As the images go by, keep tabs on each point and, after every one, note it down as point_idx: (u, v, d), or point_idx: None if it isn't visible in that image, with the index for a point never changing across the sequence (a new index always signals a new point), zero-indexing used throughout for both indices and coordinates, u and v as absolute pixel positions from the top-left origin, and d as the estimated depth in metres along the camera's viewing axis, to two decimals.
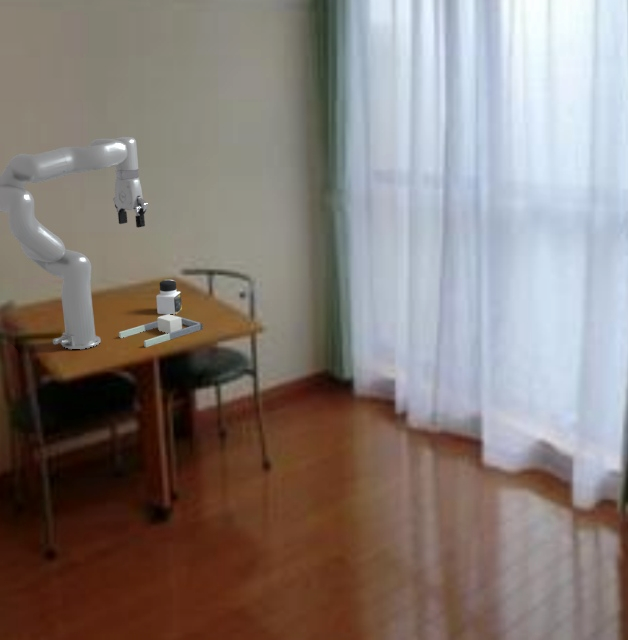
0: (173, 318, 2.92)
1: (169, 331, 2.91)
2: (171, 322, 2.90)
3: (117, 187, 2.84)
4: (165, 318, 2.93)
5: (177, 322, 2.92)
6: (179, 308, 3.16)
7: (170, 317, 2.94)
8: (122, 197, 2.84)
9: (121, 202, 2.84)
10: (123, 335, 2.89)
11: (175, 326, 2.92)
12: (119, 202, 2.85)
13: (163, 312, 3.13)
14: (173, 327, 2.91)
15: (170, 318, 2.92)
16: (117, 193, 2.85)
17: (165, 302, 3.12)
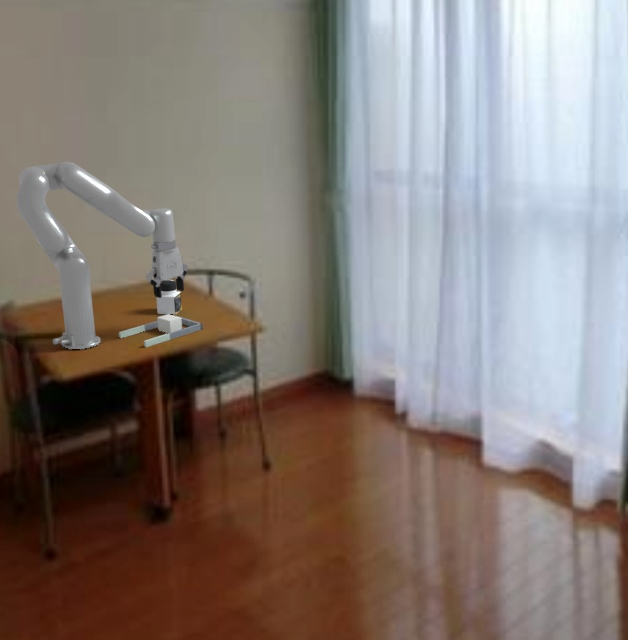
0: (173, 318, 2.92)
1: (169, 331, 2.91)
2: (171, 322, 2.90)
3: (164, 259, 2.83)
4: (165, 318, 2.93)
5: (177, 322, 2.92)
6: (179, 308, 3.16)
7: (170, 317, 2.94)
8: (171, 267, 2.86)
9: (171, 272, 2.86)
10: (123, 335, 2.89)
11: (175, 326, 2.92)
12: (167, 273, 2.85)
13: (163, 312, 3.13)
14: (173, 327, 2.91)
15: (170, 318, 2.92)
16: (164, 265, 2.84)
17: (165, 302, 3.12)
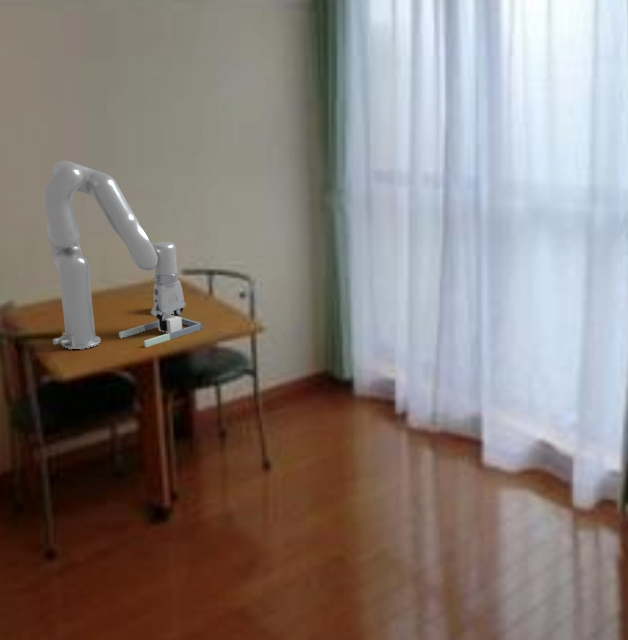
0: (173, 318, 2.92)
1: (169, 331, 2.91)
2: (171, 322, 2.90)
3: (166, 292, 2.87)
4: (165, 318, 2.93)
5: (177, 322, 2.92)
6: None
7: (170, 316, 2.94)
8: (172, 300, 2.89)
9: (172, 305, 2.90)
10: (123, 335, 2.89)
11: (175, 326, 2.92)
12: (168, 306, 2.89)
13: None
14: (173, 327, 2.91)
15: (170, 318, 2.92)
16: (166, 298, 2.87)
17: None
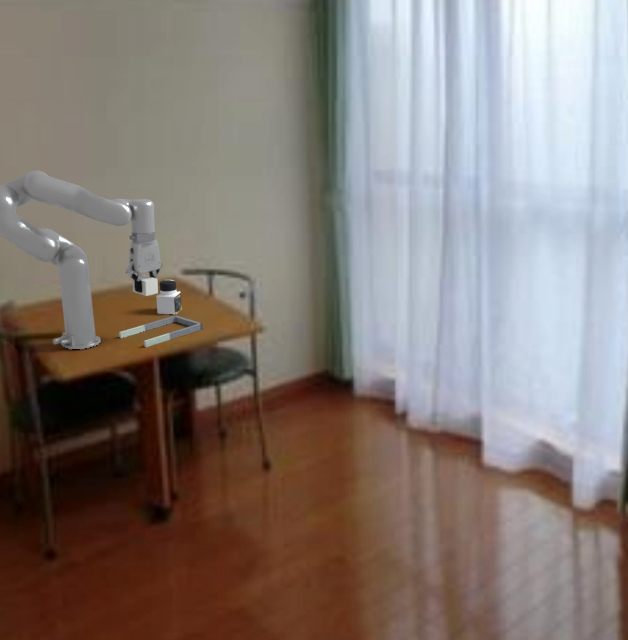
0: (148, 279, 2.82)
1: (144, 292, 2.80)
2: (147, 282, 2.79)
3: (142, 251, 2.76)
4: None
5: (153, 283, 2.82)
6: (179, 308, 3.16)
7: (146, 277, 2.83)
8: (149, 259, 2.79)
9: (148, 265, 2.79)
10: (123, 335, 2.89)
11: (151, 287, 2.81)
12: (144, 266, 2.78)
13: (163, 312, 3.13)
14: (148, 288, 2.80)
15: (146, 279, 2.81)
16: (142, 258, 2.77)
17: (165, 302, 3.12)
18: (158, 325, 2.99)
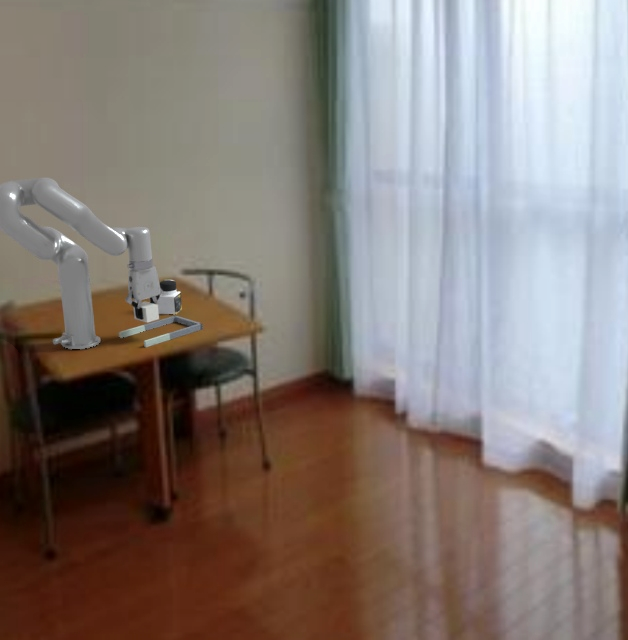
0: (149, 305, 2.83)
1: (145, 319, 2.82)
2: (147, 309, 2.81)
3: (141, 279, 2.78)
4: (141, 305, 2.84)
5: (153, 310, 2.83)
6: (179, 308, 3.16)
7: (146, 304, 2.85)
8: (148, 286, 2.80)
9: (147, 292, 2.81)
10: (123, 335, 2.89)
11: (152, 313, 2.83)
12: (144, 293, 2.80)
13: (163, 312, 3.13)
14: (149, 315, 2.82)
15: (146, 306, 2.83)
16: (141, 285, 2.78)
17: (165, 302, 3.12)
18: (158, 325, 2.99)
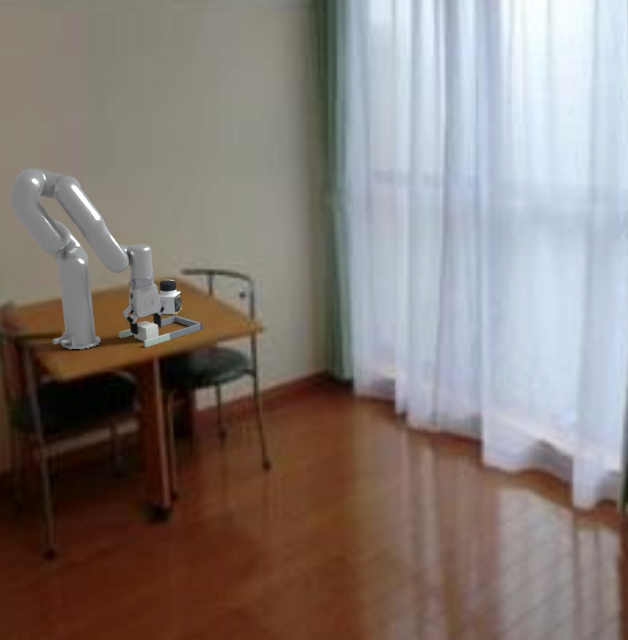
0: (149, 325, 2.85)
1: (145, 338, 2.84)
2: (147, 329, 2.83)
3: (142, 296, 2.80)
4: (141, 325, 2.86)
5: (153, 329, 2.85)
6: (179, 308, 3.16)
7: (146, 324, 2.87)
8: (148, 304, 2.82)
9: (148, 309, 2.82)
10: (123, 335, 2.89)
11: (152, 333, 2.85)
12: (144, 310, 2.81)
13: (163, 312, 3.13)
14: (149, 335, 2.84)
15: (147, 325, 2.85)
16: (141, 302, 2.80)
17: None
18: None
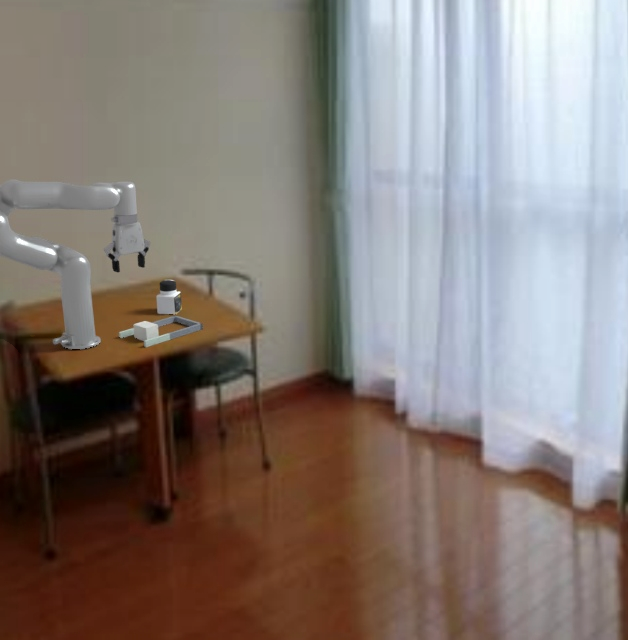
0: (149, 325, 2.85)
1: (145, 338, 2.84)
2: (147, 329, 2.83)
3: (124, 233, 2.79)
4: (141, 325, 2.86)
5: (153, 329, 2.85)
6: (179, 308, 3.16)
7: (146, 324, 2.87)
8: (131, 242, 2.81)
9: (130, 247, 2.81)
10: (123, 335, 2.89)
11: (152, 333, 2.85)
12: (126, 248, 2.80)
13: (163, 312, 3.13)
14: (149, 335, 2.84)
15: (147, 325, 2.85)
16: (124, 239, 2.79)
17: (165, 302, 3.12)
18: (158, 325, 2.99)
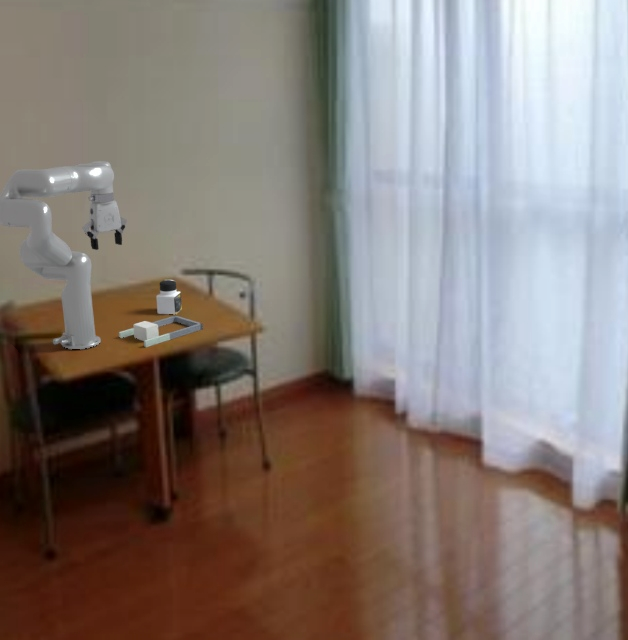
0: (149, 325, 2.85)
1: (145, 338, 2.84)
2: (147, 329, 2.83)
3: (102, 211, 2.87)
4: (141, 325, 2.86)
5: (153, 329, 2.85)
6: (179, 308, 3.16)
7: (146, 324, 2.87)
8: (108, 219, 2.90)
9: (108, 225, 2.90)
10: (123, 335, 2.89)
11: (152, 333, 2.85)
12: (104, 226, 2.89)
13: (163, 312, 3.13)
14: (149, 335, 2.84)
15: (147, 325, 2.85)
16: (101, 218, 2.88)
17: (165, 302, 3.12)
18: (158, 325, 2.99)
